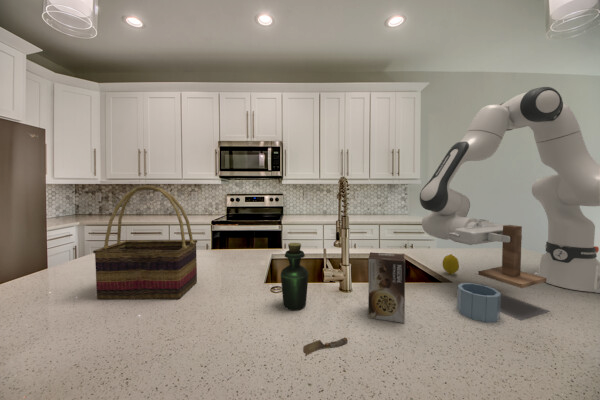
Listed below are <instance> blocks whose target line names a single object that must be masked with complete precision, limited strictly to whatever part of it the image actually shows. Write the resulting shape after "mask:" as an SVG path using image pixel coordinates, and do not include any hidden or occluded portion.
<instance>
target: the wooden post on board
mask: <svg viewBox="0 0 600 400" xmlns="http://www.w3.org/2000/svg"><path fill="white" fill-rule="evenodd" d="M522 230H523V226H522V225H516V224H515V225H514V224H513V225H512V224H504V226H503V235H508V236H512V242H508V243H507V242H502V252H501V253H502V255H501V266H497V267H492V268H487V269H483V270H478V271H477V272H478V273H477V275H478V276H482V277H486V278H488V279H491V280H494V281H497V282H501V283H505V284H507V285H510V286H512V287H515V288H516V287H517V288H520V289H524V288H528V287H531V286H535V285H539V284H543V283H546V282H547V278H545V277H541V276H537V275H534V274H532V273H530V272H525V271H521V269H522V268H521V267H522V265H521V264H522V240H523V236H522V235H523V234H522V233H523V232H522ZM521 239H522V240H521Z"/></svg>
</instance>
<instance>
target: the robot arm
mask: <svg viewBox="0 0 600 400" xmlns="http://www.w3.org/2000/svg"><path fill="white" fill-rule="evenodd" d="M525 127H526V128H527V127H529V129H531V130H532V132H533V138H534V140H535V144H536V148H537V151H538V155H539V157H540V161H541V162H542V164H543V165H545V166H546V167H549V168H551V169H552V170H553V171H554V172H556V173H557V174H551V175H547V176H542V177H540V178H538V179H536V180H535V181H534V182H533V183H532V185H531V186H532V187H531V194H532V196H533V197H534V199H535V200H537V201H538V202H539V203H540V204H541V206H542V207H543V209H544V213H545V215H546V217H547V223H548V224H547V231H548V232H547V241H545V242H546V243H545V253H544V254H542V255H541V256H540V260H539V268H538V271H535V272H534V274H533V275H537V276H541V277H545V278H547V282H545V283H546V284H549V285H552V286H554V287H558V288H559V287H560V288H564V289H567V290H572V291H579V292H580V291H581V292H589V293H597V294H600V261H599V260H598V259H597V256H598V255H597V253H598V252H599V250H600V249H599V246H596V245H595V237H596V236H595V235H596V225H595V223H594V222H593V220H591V219H590V218H588V217H587V216H585V215H584V213H583V212H582V210H581V207H600V164H599V163H597V161H596V160H595V159H594V158H593V157H592V155H591V154H590V153H589V151H588V148H587V145H586V143H585V140H584V137H583V133H582V130H581V128H580V125H579V122H578V119H577V116H576V115H575V113H574V112H573V111H572V109H571V107H570V106H568V105H567V104H564V102H563V97H562V95H561V94H560V93H559V92H558V90H557V89H555V88H553V87H552V86H551V87H550V86H541V87H536V88H532V89H530V90H528V91H526V92H523V93H519V94H517V95H515V96H513V97H512V98H510V99H508V100H506V101H504V102H502V103H500V104H496V103H495V104H488V105H486V106H483V107H481V108H480V109H479V110H478V112H477V113H476V115H475V116H474V118H473V119H472V121H471V122H470V123H469V126H468V127H467V129H466V132H465V134H464V135H463V138H461V140H460V141H458V142H455V143H454V144H453V145H452V146H451V147H450V149H449V150H448V152H446V154H445V156H444V157H443V159H442V160H441V162H440V163H439V165H438V167H437V169H436V170H435V172H434V173H433V174H432V176H431V178H430V179H429V180H428V182H427V183H426V184H425V185H424V187H422V189H421V190H420V193H419V202H420V203H419V204H420V206H421V207H422V208H424V209H425V210H427V211H430V213H427V214H426V215H424V216H423V218H422V220H421V226H422V229H423V231H424V232H425V233H426V234H427V235H428V236H431V237H433V238H436V239H440V240H446V241H447V240H450V241H452V242H455V243H460V244H464V245H469V246H472V245H473V246H474V245H480V244H487V243H493V242H500V243H501V242H502V243H503V242H507V243H508V242H512V236H508V235H503V226H504V225H505V224H504V223H499V222H498V223H497V222H490V220H487V219H478V218H473V217H467V216H468V213H469V211H470V208H471V202H470V199H469V197H467V196H466V195H464V194H463V193H461V192H458V191H456V190H454V189H452V188H450V183H451V182H452V180H453V178H454V177H455V175H456V173H457V172H458V171H459V169H460V168H461V166H462V165H463V164H464V163H466V162H481V161H485V160H487V159H489V158H491V157H492V156H493V155H494V154H495V153H496V152H497V151H498V148H499V146H500V144H501V143H502V140H503V139H504V136H505V133H506V132H507V131H512V130H517V129H522V128H525ZM521 241H523V238H522V239H521Z"/></svg>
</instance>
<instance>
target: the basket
mask: <svg viewBox="0 0 600 400" xmlns="http://www.w3.org/2000/svg"><path fill="white" fill-rule="evenodd" d="M141 191H153V192H159V193H160V194H161V195H163V196H164V197H165V198H166V199H167V200H168V201H169V203H170V204H171V206H172V207H173V209H174V211H175V213H176V214H175V215H176V216H177V220H178V223H179V228H180V239H181V240H179V239H178V240H177V239H176V240H175V239H173V240H171V239H170V240H123V241H121V238H122V237H121V233H122V219H123V216H124V214H125V210H126V206H127V205H128V203H129V202H130V200H131V198H132V196H134V195H135V194H136V193H137V192H141ZM120 208H121V210H120ZM119 210H120V212H119ZM180 211H181V213H180ZM118 212H119V216H118V219H117V221H118V222H117V236H116V238H117V239H116V243H114V244H113V243H112V244H110V245H109V240H110V235H111V230H112V225H113V221H114V219H115V217H116V216H117V213H118ZM181 214H182V216H183V218H184V221H185V223H186V228H187V233H188V237H189V239H186V237H185V230H184V229H185V228H184V223H183V220H182V216H181ZM104 238H105V239H104V245H103V247H100V248H98V249H94V250H93V251H92V253H93V254H94V262H95V278H96V279H95V283H96V298H97V300H101V301H102V300H180V299H181V298H182V297H183V296H184V295H185V294H186V293H187V292H188V291H190V290H191V288H193V287H194V286H195V285H196V284H197V282H198V270H197V268H198V267H197V266H198V265H197V243H198V239H193V234H192V229H191V224H190V220H189V218H188V216H187V214H186V211H185V209H184V208H183V206H182V205H181V204H180V203H179V202H178V200H177V199H176V198H175V197H174V195H172V194H170V193H169V192H167V191H166V190H164V189H163V188H161V187H158V186H155V185H145V184H144V185H139V186H136V187H134V188H133V189H132V190H130V191H129V192H127V193H126V194H125V195H124V196H123V197H122V198H121V200H120V201H119V202H118V203H117V204H116V206H115V208H114V210H113V212H112V214H111V216H110V218H109V220H108V224H107V229H106V232H105V237H104Z"/></svg>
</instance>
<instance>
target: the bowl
mask: <svg viewBox="0 0 600 400" xmlns="http://www.w3.org/2000/svg"><path fill="white" fill-rule="evenodd" d="M501 294H502V293H501V292H500V291H498V290H497V289H496V288H494V287H490V286H487V285H485V284H481V283H480V284H479V283H474V282H461V283H459V284H458V285H457V293H456V310H457V311H458V312H459V314H460V315H463V316H464V317H466V318H468V319H471V320H473V321H478V322H482V323H498V321H499V320H500V319H501V312H500V302H501Z"/></svg>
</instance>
